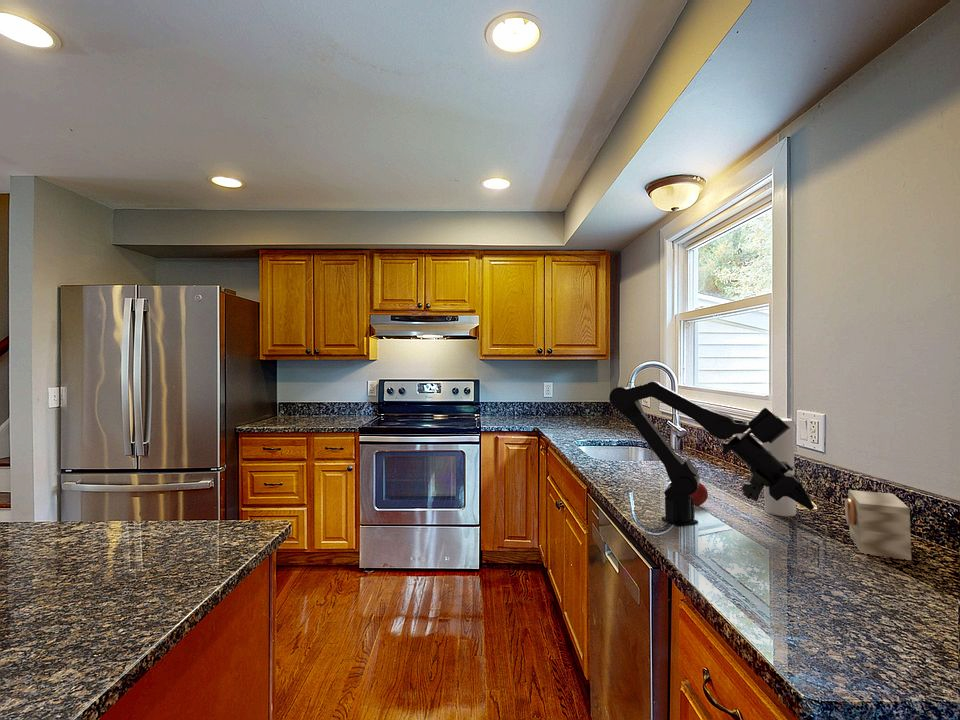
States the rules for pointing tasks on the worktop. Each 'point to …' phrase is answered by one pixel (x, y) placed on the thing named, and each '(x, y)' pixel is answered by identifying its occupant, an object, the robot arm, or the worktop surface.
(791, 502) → the cylindrical container
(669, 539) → the worktop surface
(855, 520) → the peg
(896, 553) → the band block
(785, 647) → the worktop surface
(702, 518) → the worktop surface
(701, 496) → the onion
